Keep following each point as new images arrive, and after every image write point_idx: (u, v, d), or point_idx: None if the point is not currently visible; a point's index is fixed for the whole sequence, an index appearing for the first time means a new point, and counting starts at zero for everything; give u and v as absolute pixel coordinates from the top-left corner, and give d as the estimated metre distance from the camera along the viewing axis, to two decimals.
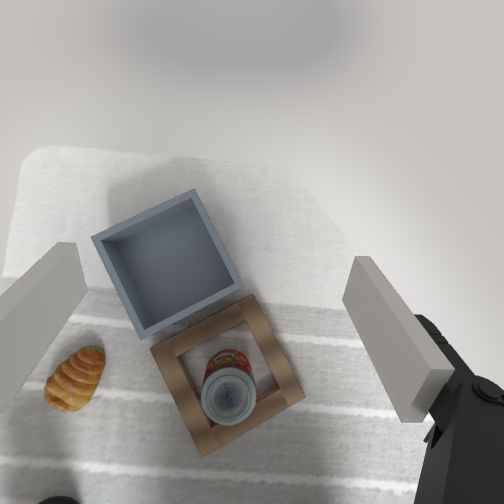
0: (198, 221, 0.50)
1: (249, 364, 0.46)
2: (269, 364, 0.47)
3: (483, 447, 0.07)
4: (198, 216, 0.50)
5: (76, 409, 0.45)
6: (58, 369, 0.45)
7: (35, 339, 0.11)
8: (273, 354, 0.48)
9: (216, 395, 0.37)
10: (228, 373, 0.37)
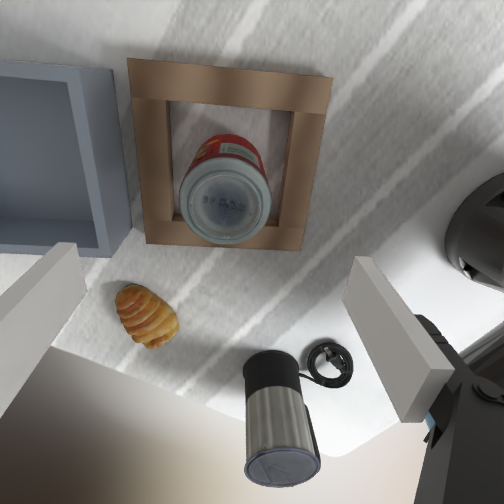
0: None
1: (229, 136, 0.28)
2: (251, 105, 0.28)
3: (483, 447, 0.07)
4: None
5: (176, 328, 0.42)
6: (125, 328, 0.40)
7: (35, 339, 0.11)
8: (240, 88, 0.27)
9: (214, 219, 0.23)
10: (189, 188, 0.21)
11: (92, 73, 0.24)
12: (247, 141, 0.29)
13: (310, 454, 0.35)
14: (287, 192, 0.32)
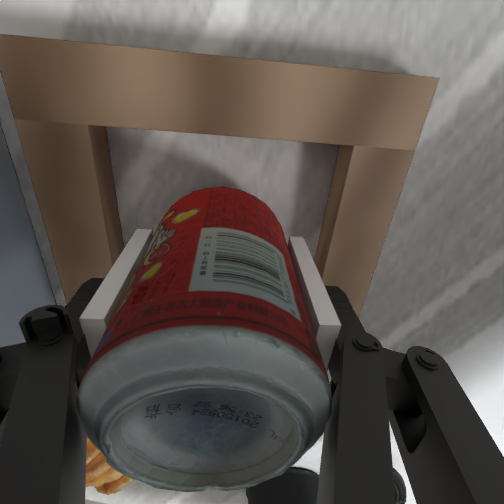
0: None
1: (222, 198, 0.14)
2: (267, 133, 0.14)
3: (364, 393, 0.08)
4: None
5: None
6: None
7: None
8: (245, 101, 0.13)
9: (182, 441, 0.09)
10: (98, 407, 0.07)
11: None
12: (258, 202, 0.15)
13: None
14: (327, 282, 0.18)
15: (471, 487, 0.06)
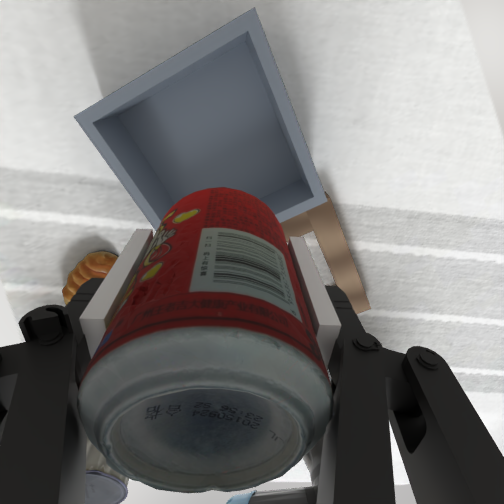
0: (250, 71, 0.28)
1: (223, 198, 0.14)
2: (336, 278, 0.39)
3: (364, 393, 0.08)
4: (250, 60, 0.28)
5: None
6: (69, 281, 0.37)
7: None
8: (342, 268, 0.38)
9: (182, 443, 0.09)
10: (98, 409, 0.07)
11: None
12: (258, 203, 0.15)
13: (126, 494, 0.39)
14: None
15: (471, 487, 0.06)
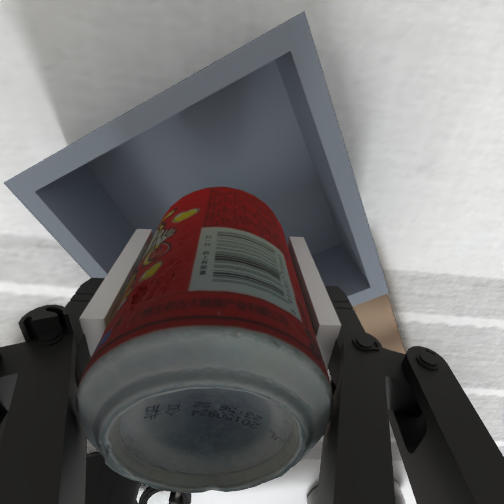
0: (279, 102, 0.19)
1: (222, 197, 0.14)
2: None
3: (364, 392, 0.08)
4: (280, 87, 0.19)
5: None
6: None
7: None
8: (386, 348, 0.30)
9: (182, 442, 0.09)
10: (97, 408, 0.07)
11: None
12: (258, 202, 0.15)
13: None
14: None
15: (471, 487, 0.06)
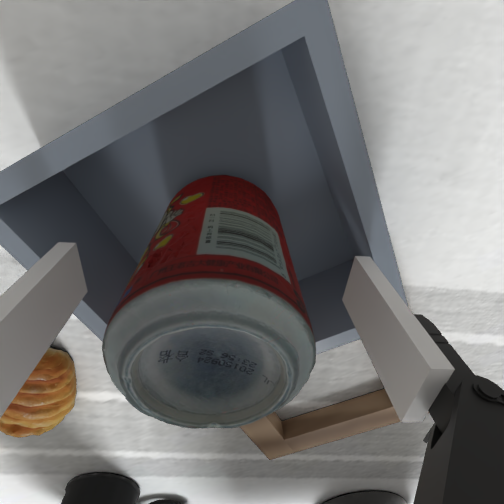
0: (286, 100, 0.16)
1: (224, 184, 0.15)
2: None
3: (483, 447, 0.07)
4: (287, 83, 0.16)
5: (58, 422, 0.29)
6: None
7: (35, 339, 0.11)
8: None
9: (188, 386, 0.11)
10: (122, 346, 0.09)
11: None
12: (256, 189, 0.16)
13: None
14: (322, 430, 0.31)
15: None
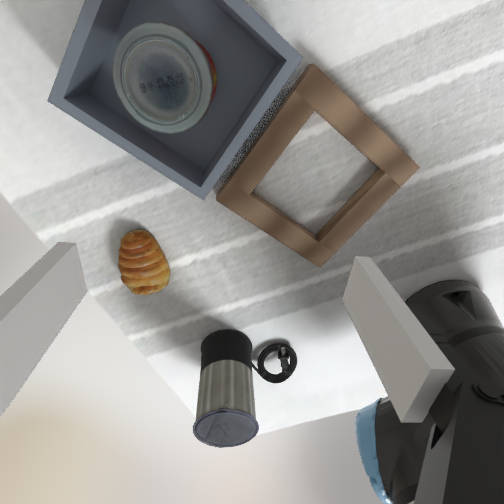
0: None
1: None
2: (364, 151, 0.36)
3: (483, 447, 0.07)
4: None
5: (166, 283, 0.44)
6: (120, 268, 0.41)
7: (35, 339, 0.11)
8: (366, 136, 0.35)
9: (163, 105, 0.22)
10: (119, 80, 0.21)
11: None
12: None
13: (257, 424, 0.42)
14: (342, 221, 0.40)
15: None
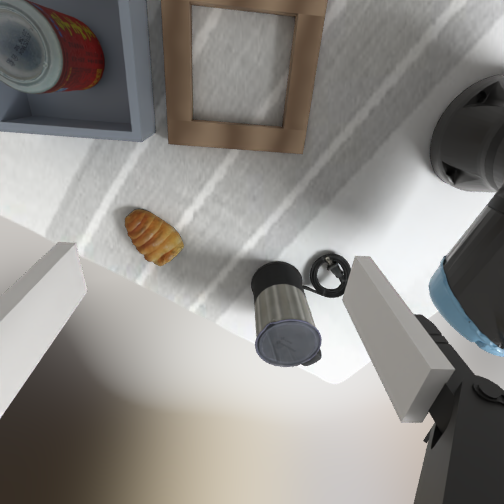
0: None
1: None
2: (261, 6, 0.33)
3: (483, 447, 0.07)
4: None
5: (180, 245, 0.48)
6: (138, 249, 0.47)
7: (35, 339, 0.11)
8: None
9: (32, 66, 0.26)
10: None
11: None
12: None
13: (314, 328, 0.40)
14: (291, 93, 0.37)
15: None
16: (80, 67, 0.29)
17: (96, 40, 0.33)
